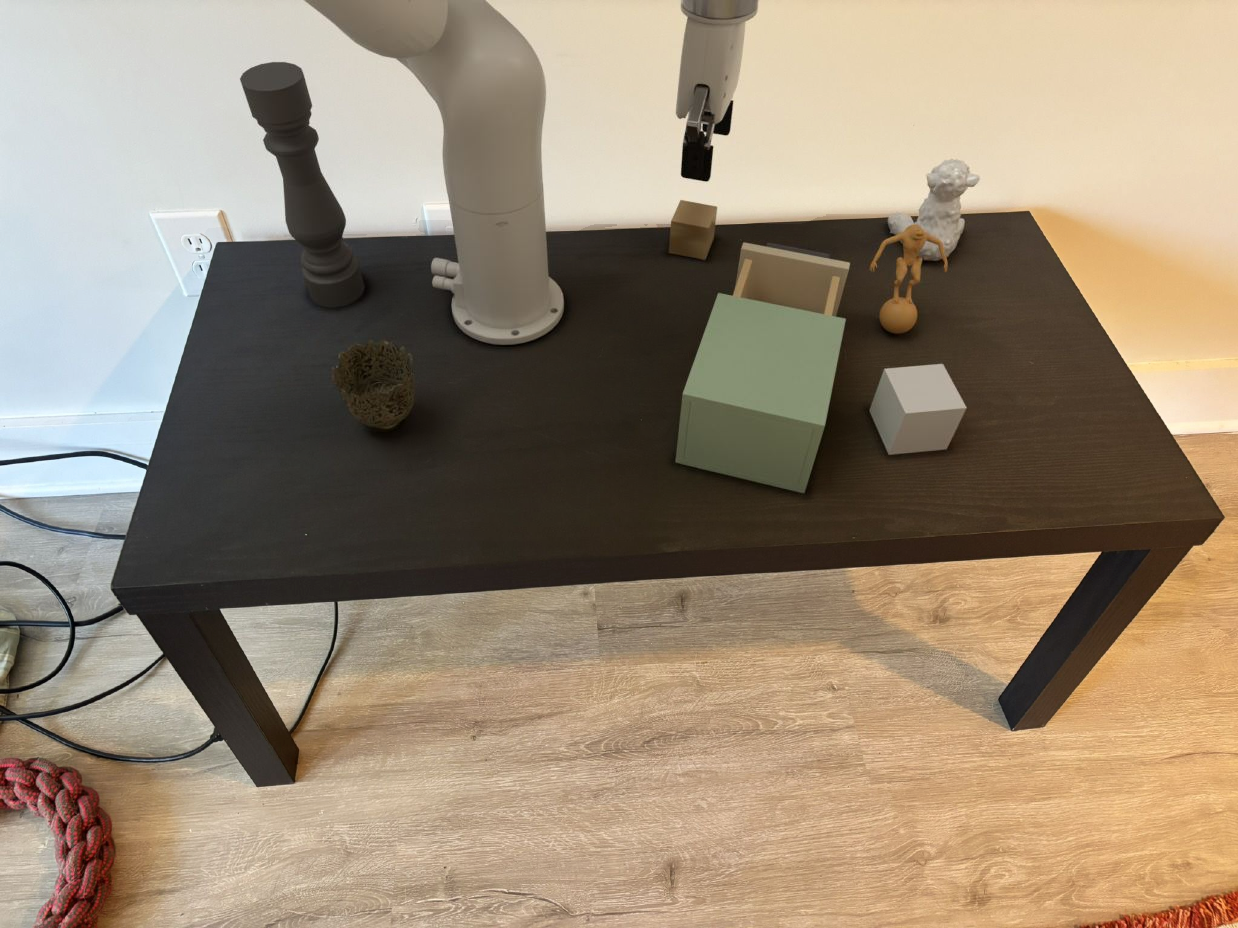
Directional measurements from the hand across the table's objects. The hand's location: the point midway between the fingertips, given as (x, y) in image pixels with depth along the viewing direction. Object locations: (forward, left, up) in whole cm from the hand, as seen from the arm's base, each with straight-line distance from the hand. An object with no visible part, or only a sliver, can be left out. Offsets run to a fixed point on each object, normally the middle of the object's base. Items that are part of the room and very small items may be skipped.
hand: (705, 155), depth 95 cm
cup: (-23, -38, -13) cm, 46 cm away
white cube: (+27, -23, -13) cm, 38 cm away
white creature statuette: (+27, +9, -13) cm, 31 cm away
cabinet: (+12, -27, -12) cm, 32 cm away
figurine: (+24, -7, -13) cm, 28 cm away
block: (-1, 0, -12) cm, 12 cm away
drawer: (+12, -14, -11) cm, 22 cm away
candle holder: (-38, -21, -12) cm, 45 cm away
